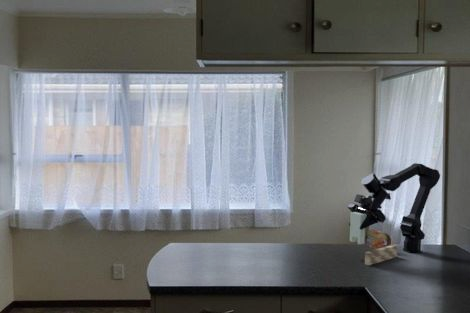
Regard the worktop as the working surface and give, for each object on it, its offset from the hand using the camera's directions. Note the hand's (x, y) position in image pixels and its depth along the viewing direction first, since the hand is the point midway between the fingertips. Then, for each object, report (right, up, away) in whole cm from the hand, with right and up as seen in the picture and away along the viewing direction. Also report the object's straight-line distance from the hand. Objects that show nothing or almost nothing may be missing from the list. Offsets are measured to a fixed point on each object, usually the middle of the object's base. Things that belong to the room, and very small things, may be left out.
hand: (354, 227), depth 213 cm
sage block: (+1, -7, +1) cm, 7 cm away
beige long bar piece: (+11, -14, -1) cm, 18 cm away
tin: (+15, -13, +19) cm, 28 cm away
